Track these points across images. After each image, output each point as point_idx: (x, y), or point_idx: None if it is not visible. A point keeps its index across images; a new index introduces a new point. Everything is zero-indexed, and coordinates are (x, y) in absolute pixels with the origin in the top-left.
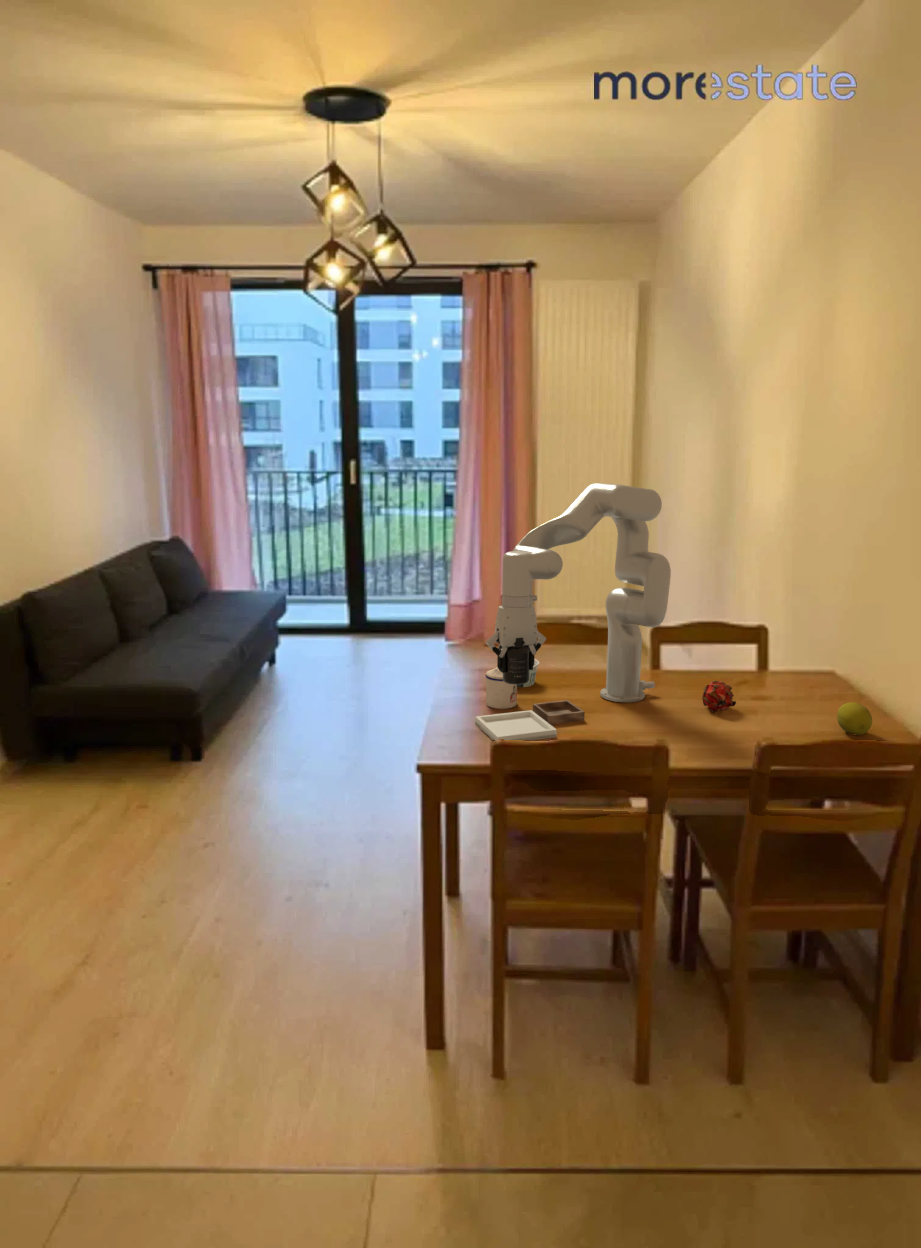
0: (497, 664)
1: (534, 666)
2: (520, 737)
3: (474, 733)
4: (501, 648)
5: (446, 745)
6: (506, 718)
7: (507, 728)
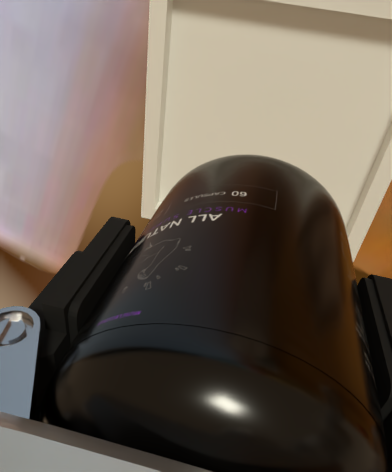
0: (67, 264)
1: None
2: None
3: (118, 77)
4: (13, 401)
5: (6, 131)
6: (305, 6)
7: (235, 125)
